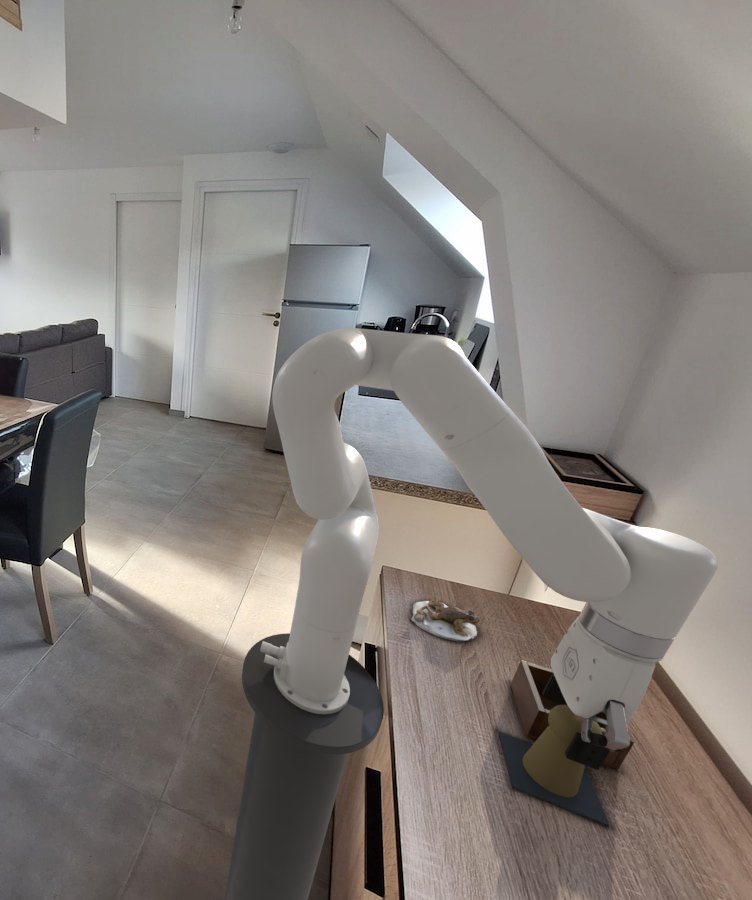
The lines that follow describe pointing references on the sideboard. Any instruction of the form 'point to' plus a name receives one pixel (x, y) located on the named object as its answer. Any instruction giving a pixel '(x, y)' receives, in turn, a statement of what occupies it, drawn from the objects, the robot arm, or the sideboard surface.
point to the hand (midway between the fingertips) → (567, 729)
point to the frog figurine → (445, 620)
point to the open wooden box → (546, 706)
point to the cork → (557, 753)
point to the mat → (580, 804)
